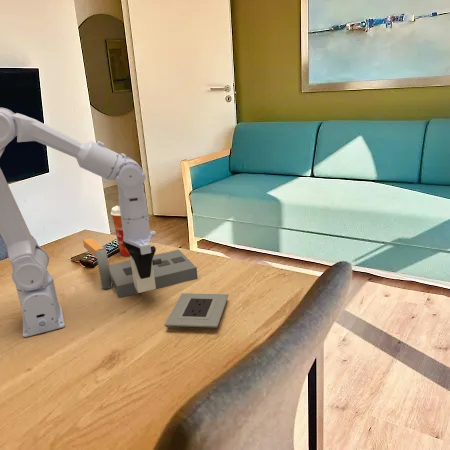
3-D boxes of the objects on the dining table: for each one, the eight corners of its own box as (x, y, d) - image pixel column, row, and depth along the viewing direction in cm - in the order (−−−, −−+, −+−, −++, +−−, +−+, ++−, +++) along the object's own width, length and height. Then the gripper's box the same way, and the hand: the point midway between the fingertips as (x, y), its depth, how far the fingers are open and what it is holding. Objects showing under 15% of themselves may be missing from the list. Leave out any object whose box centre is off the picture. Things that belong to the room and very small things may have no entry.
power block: (197, 278, 109) (196, 266, 108) (118, 297, 101) (116, 285, 100) (180, 259, 121) (178, 249, 120) (108, 275, 114) (106, 264, 113)
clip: (113, 286, 107) (107, 250, 104) (104, 289, 105) (97, 253, 102) (97, 271, 116) (91, 237, 113) (88, 273, 115) (82, 240, 112)
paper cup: (114, 251, 130) (107, 206, 126) (140, 246, 133) (133, 201, 129) (120, 260, 123) (112, 212, 119) (146, 254, 126) (140, 207, 122)
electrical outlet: (217, 335, 84) (216, 324, 84) (165, 333, 86) (164, 323, 86) (228, 302, 97) (228, 293, 96) (182, 301, 99) (181, 292, 98)
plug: (166, 286, 99) (162, 255, 96) (138, 293, 97) (133, 262, 94) (161, 279, 102) (157, 249, 100) (134, 286, 100) (129, 255, 98)
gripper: (161, 221, 89) (169, 281, 93) (144, 205, 101) (151, 259, 106) (127, 227, 86) (136, 289, 90) (114, 210, 99) (122, 265, 103)
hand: (142, 273), depth 98 cm, fingers closed on plug, 4 cm apart
